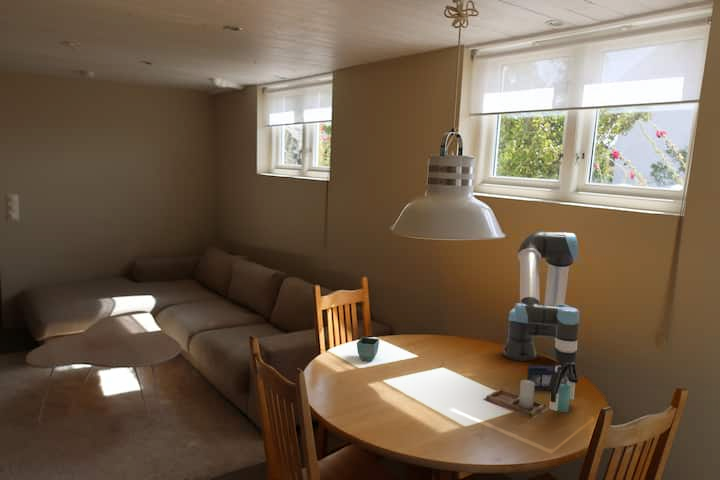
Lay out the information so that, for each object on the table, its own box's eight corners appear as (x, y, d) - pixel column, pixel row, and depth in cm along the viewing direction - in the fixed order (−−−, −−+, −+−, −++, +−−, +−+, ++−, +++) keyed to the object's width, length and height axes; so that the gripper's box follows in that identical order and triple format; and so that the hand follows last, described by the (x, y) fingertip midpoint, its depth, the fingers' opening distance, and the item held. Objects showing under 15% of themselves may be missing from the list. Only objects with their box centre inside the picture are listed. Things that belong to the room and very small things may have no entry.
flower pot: (356, 361, 240) (356, 342, 239) (361, 354, 248) (361, 336, 247) (374, 363, 238) (374, 345, 236) (379, 356, 246) (379, 338, 245)
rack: (499, 392, 209) (499, 386, 208) (548, 410, 194) (549, 404, 193) (482, 401, 200) (482, 395, 200) (532, 421, 186) (533, 415, 185)
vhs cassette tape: (528, 391, 211) (529, 367, 209) (525, 388, 214) (527, 365, 212) (573, 391, 211) (575, 368, 209) (570, 388, 214) (572, 365, 212)
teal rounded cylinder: (557, 407, 197) (559, 382, 195) (570, 411, 193) (572, 386, 192) (551, 411, 193) (553, 386, 192) (564, 416, 190) (566, 390, 188)
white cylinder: (523, 403, 197) (524, 378, 196) (535, 408, 194) (537, 382, 192) (516, 407, 194) (518, 382, 192) (528, 412, 190) (530, 386, 189)
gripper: (570, 339, 201) (566, 390, 204) (539, 354, 184) (536, 410, 187) (590, 344, 196) (585, 397, 199) (560, 360, 178) (556, 418, 182)
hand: (561, 403), depth 193 cm, fingers open, 13 cm apart
